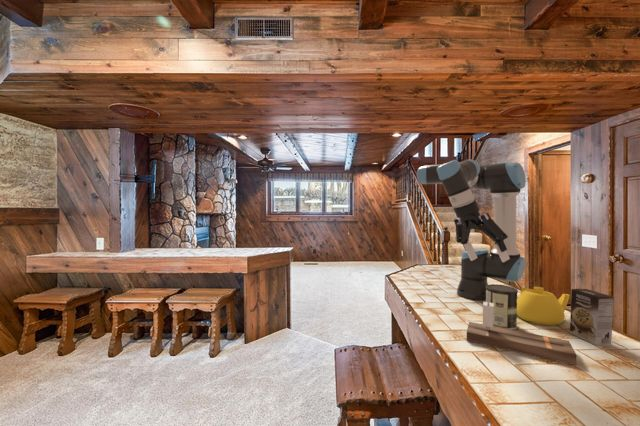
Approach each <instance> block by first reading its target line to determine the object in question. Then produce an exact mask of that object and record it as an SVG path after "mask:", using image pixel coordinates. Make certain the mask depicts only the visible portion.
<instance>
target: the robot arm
mask: <svg viewBox="0 0 640 426" xmlns="http://www.w3.org/2000/svg"><path fill="white" fill-rule="evenodd" d="M416 180H417V181H418V183H420V185H442V187H443V188H444V191H445V193H446V196H447V198H448V199H449V202H450V204H451V206H452V208H453V212H454V214H455V215H456V217H457V218H455V219H454V220H453V222H454V225H455V239H456V243H457V244H459V243H460V244H461V245H462V247H463V248H464V250H463V251H462V253H461V258H460V260H461V261H460V262H461V263H460V265H461V267H460V277H461V278H460V281H459V283H458V286H457V288H456V294H457V295H458V296H460V297H462V298H466V299H470V300H478V301H486V285H489V283H488V278H489V279H496V280H500V281H505V282H511V283H513V282H514V283H517V282H519V281H520V280H521V279H523V275H524V274H525V273H524V272H525V269H526V263H527V262H526V258H525V257H523V256H521V251H519V249H518V248H517V197H518V196H519V194H521V190H522V189H524V188H525V187H526V181H527V179H526V174H525V170H524V168H523V165H521V163H519V162H505V163H504V162H501V163H493V164H492V163H491V164H482V165H480V164H479V163H478V161H476V160H474V159H472V158H471V159H470V158H469V159H464V160H462V161H458V160H457V159H453V160H451V161H449V162H446V163H440V164H430V165H428V164H426V165H423V166H420V167H418V169H417V171H416ZM471 189H474V190H477V189H478V190H489V192H490V195H491V196H493V214H494V215H493V218H494V220H493V219H492V218H491V216H490V214H489V213H488V212H485V213H483V214H482V215H481V214H480V207H479V205H478V202H477V201H476V200H475V195H474V194H473V191H472V190H471ZM471 230H477V231H481V232H482V233H484V234H485V235H486V236H487V237H488V238H489V239H491V240H492V241H493V245H494V247H493V248H492V249H491V250H490V253H489V250H488V249H483V248H482V249H481V248H480V249H479V248H478V249H475V248H474V246H473V245H472V242H471V241H469V240H470V234H471Z"/></svg>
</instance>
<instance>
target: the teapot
mask: <svg viewBox="0 0 640 426" xmlns="http://www.w3.org/2000/svg"><path fill="white" fill-rule="evenodd" d="M570 298H571V294H568V293H562V295H561V296H560V297H559V298H557V296H555V294H554V293H552V292H550V291H547V290H545V288H544V287H541V286H533V288H530V287H529V288H528V287H522V288H521V290H520V294H519V295H517V318H518V317H519V318H520V319H522V320H524V321H527V322H528V323H532V324H537V325H542V326H558V325H560V324H562V323H563V321H564V320H565V318H566V317H565V310H566V308H567V305H568V302H569V300H570Z"/></svg>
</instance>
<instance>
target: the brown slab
mask: <svg viewBox="0 0 640 426" xmlns="http://www.w3.org/2000/svg"><path fill="white" fill-rule="evenodd" d="M466 341H467V342H471V343H476V344H479V345H483V346H489V347H494V348H497V349H502V350H506V351H510V352H517V353H521V354H525V355H529V356H534V357H538V358H543V359H547V360H551V361H557V362H560V363H565V364H570V365H575V366H577V353H576V351H575V349H574V347H573V346H572V344H571V342H570V340H567V339H563V338H562V339H561V338H556V337H552V336H551V337H550V336H545V335H542V334H541V335H540V334H536V333H530V332H525V331H519V330H516V329H514V330H510V329H505V328H499V327H494V326H493V328H492V327H490V330H487V329H486V326H483V323H476V322H472V321H468V325H467V330H466Z"/></svg>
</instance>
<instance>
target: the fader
mask: <svg viewBox="0 0 640 426" xmlns="http://www.w3.org/2000/svg"><path fill="white" fill-rule="evenodd" d="M482 304H483V305H482V324H483V326H486V329H487V330H490V327H492V328H493V311H494V303H489V302H486V301H483V303H482Z"/></svg>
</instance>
